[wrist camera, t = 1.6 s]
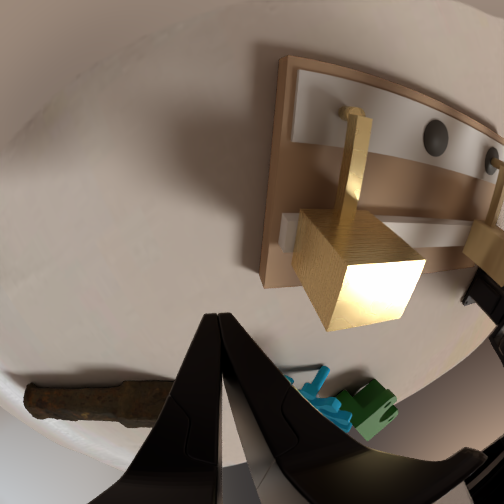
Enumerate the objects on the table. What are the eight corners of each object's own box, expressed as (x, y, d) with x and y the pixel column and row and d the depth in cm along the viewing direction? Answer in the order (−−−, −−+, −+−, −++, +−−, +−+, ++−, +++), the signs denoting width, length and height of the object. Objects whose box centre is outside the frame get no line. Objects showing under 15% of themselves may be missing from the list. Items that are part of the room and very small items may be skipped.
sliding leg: (378, 113, 12) (460, 134, 7) (349, 255, 16) (400, 317, 11) (308, 98, 11) (380, 105, 6) (287, 258, 15) (326, 331, 11)
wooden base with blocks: (499, 138, 16) (560, 167, 9) (464, 258, 22) (511, 302, 16) (279, 59, 11) (355, 30, 5) (258, 274, 18) (292, 368, 12)
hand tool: (46, 397, 23) (39, 428, 19) (27, 378, 20) (17, 411, 17) (189, 392, 25) (192, 433, 21) (177, 371, 22) (179, 416, 19)
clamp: (361, 375, 38) (396, 414, 33) (331, 399, 37) (366, 439, 32) (371, 365, 28) (417, 417, 23) (331, 399, 27) (377, 453, 22)
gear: (249, 370, 21) (361, 424, 16) (286, 320, 24) (386, 364, 20) (252, 410, 28) (330, 449, 23) (280, 372, 32) (352, 407, 27)
